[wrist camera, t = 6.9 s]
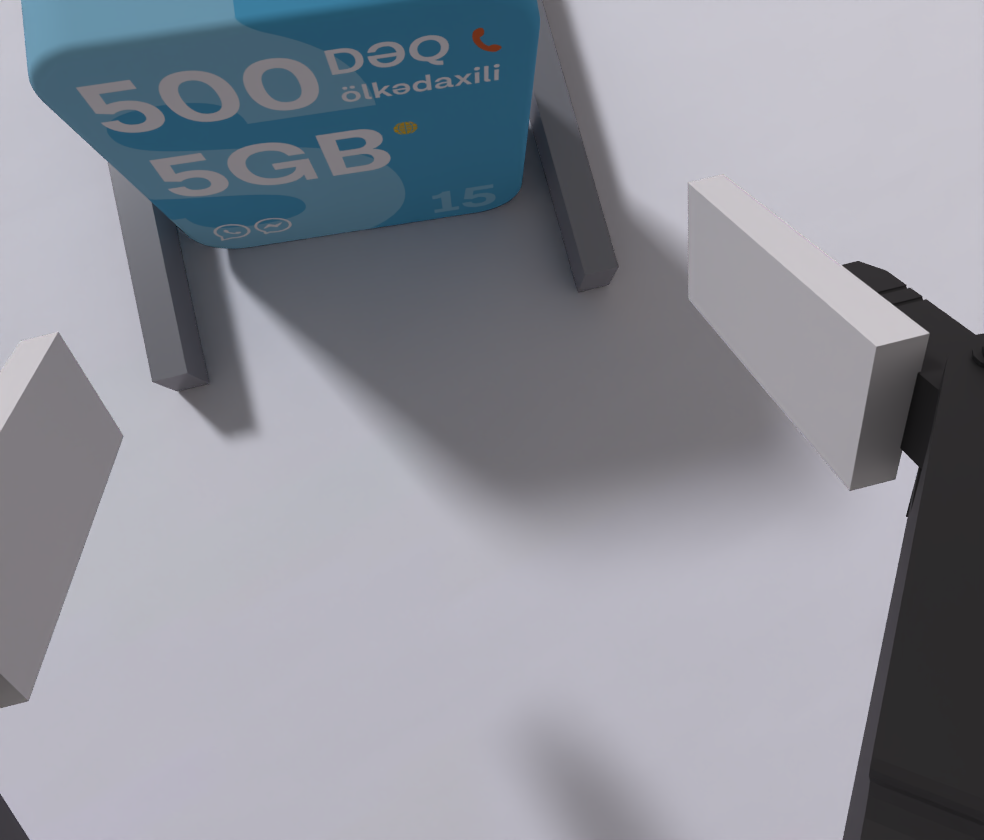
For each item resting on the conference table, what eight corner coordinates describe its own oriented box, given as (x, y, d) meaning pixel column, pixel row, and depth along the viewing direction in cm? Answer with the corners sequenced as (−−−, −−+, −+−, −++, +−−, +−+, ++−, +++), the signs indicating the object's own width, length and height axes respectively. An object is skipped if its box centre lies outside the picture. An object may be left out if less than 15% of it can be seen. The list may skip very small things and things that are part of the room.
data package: (205, 256, 28) (-7, 64, 16) (191, 143, 28) (-23, -126, 16) (520, 208, 28) (548, -17, 16) (501, 97, 28) (513, -199, 17)
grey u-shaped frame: (176, 391, 27) (152, 381, 25) (92, -17, 29) (63, -56, 27) (608, 284, 28) (618, 266, 26) (497, -108, 30) (498, -152, 28)
